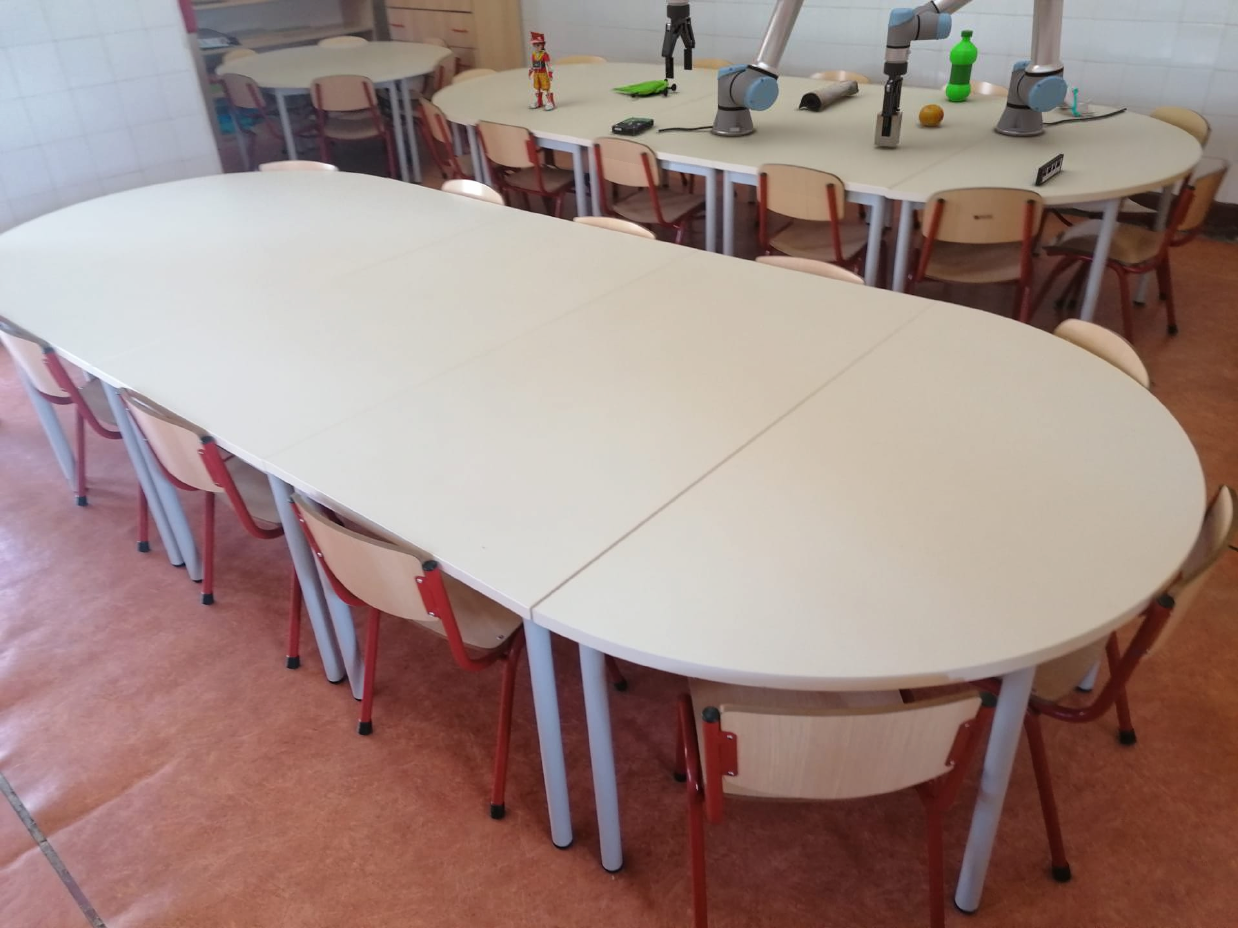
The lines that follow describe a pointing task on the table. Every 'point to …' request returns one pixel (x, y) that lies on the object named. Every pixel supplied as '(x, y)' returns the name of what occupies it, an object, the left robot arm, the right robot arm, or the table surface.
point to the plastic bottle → (961, 68)
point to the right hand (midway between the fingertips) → (888, 134)
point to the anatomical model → (1075, 103)
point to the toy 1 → (541, 71)
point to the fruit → (931, 115)
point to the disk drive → (632, 126)
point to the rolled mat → (828, 94)
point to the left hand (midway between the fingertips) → (679, 74)
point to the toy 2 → (648, 88)
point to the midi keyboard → (1049, 169)
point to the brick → (894, 131)
